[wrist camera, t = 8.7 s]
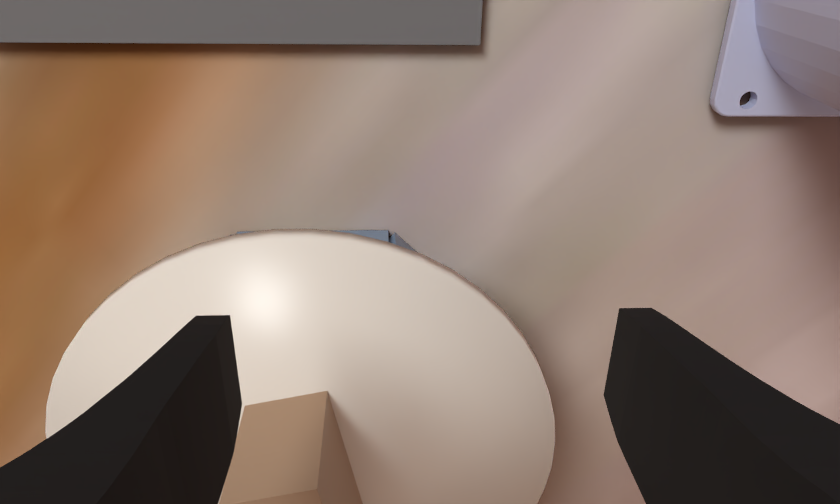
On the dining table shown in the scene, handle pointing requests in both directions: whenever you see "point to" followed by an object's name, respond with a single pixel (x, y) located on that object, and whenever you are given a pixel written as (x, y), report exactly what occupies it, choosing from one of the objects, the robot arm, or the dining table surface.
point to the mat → (243, 21)
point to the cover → (338, 370)
